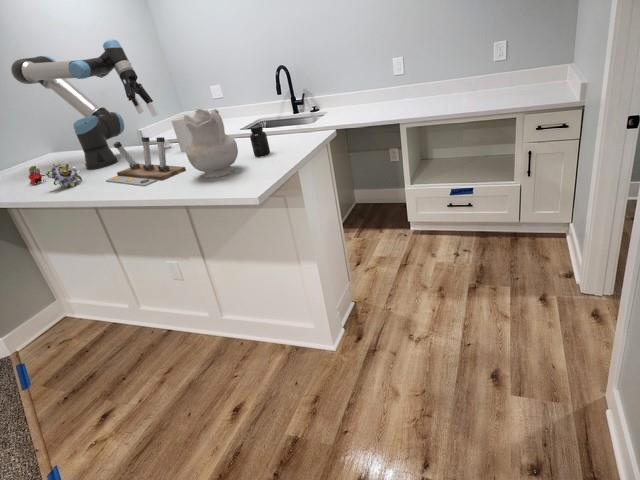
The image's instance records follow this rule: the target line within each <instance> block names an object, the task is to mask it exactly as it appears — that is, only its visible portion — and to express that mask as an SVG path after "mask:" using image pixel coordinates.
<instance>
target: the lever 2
mask: <svg viewBox="0 0 640 480" xmlns="http://www.w3.org/2000/svg"><path fill="white" fill-rule="evenodd" d="M165 140H166V139H165V137H159V136H158V137H156V143H157V150H158V160H159V161H158V162H159V165H160V170H164V168H163V167H164V166H167V159H166V149H165V147H164V146H165V144H164V142H165Z"/></svg>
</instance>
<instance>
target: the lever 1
mask: <svg viewBox="0 0 640 480" xmlns="http://www.w3.org/2000/svg"><path fill="white" fill-rule="evenodd" d="M113 147H114V148H115V149H117V151H119V153H120V154H121V155H122V157H123V158H124V159H125V160H126V162H128V164H130V165H131V167H132V168H135V166H134V165H135V164H137V162H136V161H135V160H134V159H133V157H132V156H131V155H130V154H129V152H128V151H127V150H126V149H125V147H124V146H123V144H122V143H121V141H116V142H115V143H113Z"/></svg>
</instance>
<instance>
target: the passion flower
mask: <svg viewBox="0 0 640 480" xmlns="http://www.w3.org/2000/svg"><path fill="white" fill-rule="evenodd" d="M80 174H81V170H80V169H79V170H78V169H76V166H71V165H69V163H68V162H65V163H63V164H61V163H59V164H58V163H57V162H53V167H52V168H51V170H50V169H49V170H46V172H45V176H47V178H49V179H50V178H51V179H53V180H54V181H53V185H55V186H56V185H60V186H61V187H64V188H68V187H70V188H74V187H75V182H74V181H76V182H80V181H81V182H82V177H81V176H80Z"/></svg>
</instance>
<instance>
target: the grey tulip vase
mask: <svg viewBox="0 0 640 480" xmlns="http://www.w3.org/2000/svg"><path fill="white" fill-rule="evenodd" d="M183 116H184V118H183V119H184V123H185V125H186V127H187V128H188V129H189V130H190V132H191V134H192V138H193V139H192V143H191V144H190V145H189V147H188V149H187V151H186V152H185V153H186V156H187V159H188V162H189V163H190V165H191V166H192V167H193V168H194V169H195V170H197V171H199V172H203V173H204V178H205V179H211V178H212V179H214V178H219V177H220V178H221V177H223V176H226V175H229V174H231V173H230V172H232V173H233V172H234V170H233V169H234V167H232V165H233V164H234V163H235V162H236V160H237V157H238V154H239V149H238V145H237V141H236V140H235V138H233V137H232V136H229V135H228V134H226V132H225V124H224V121H223V118H222V117H221V115H220V112H219V110H218V109H211V110H210V111H209V110H208V109H202V108H201V109H200V108H198V109H196V110H195V111H194V114H193V116H190V115H189V114H188V115H187V114H184V115H183Z"/></svg>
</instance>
